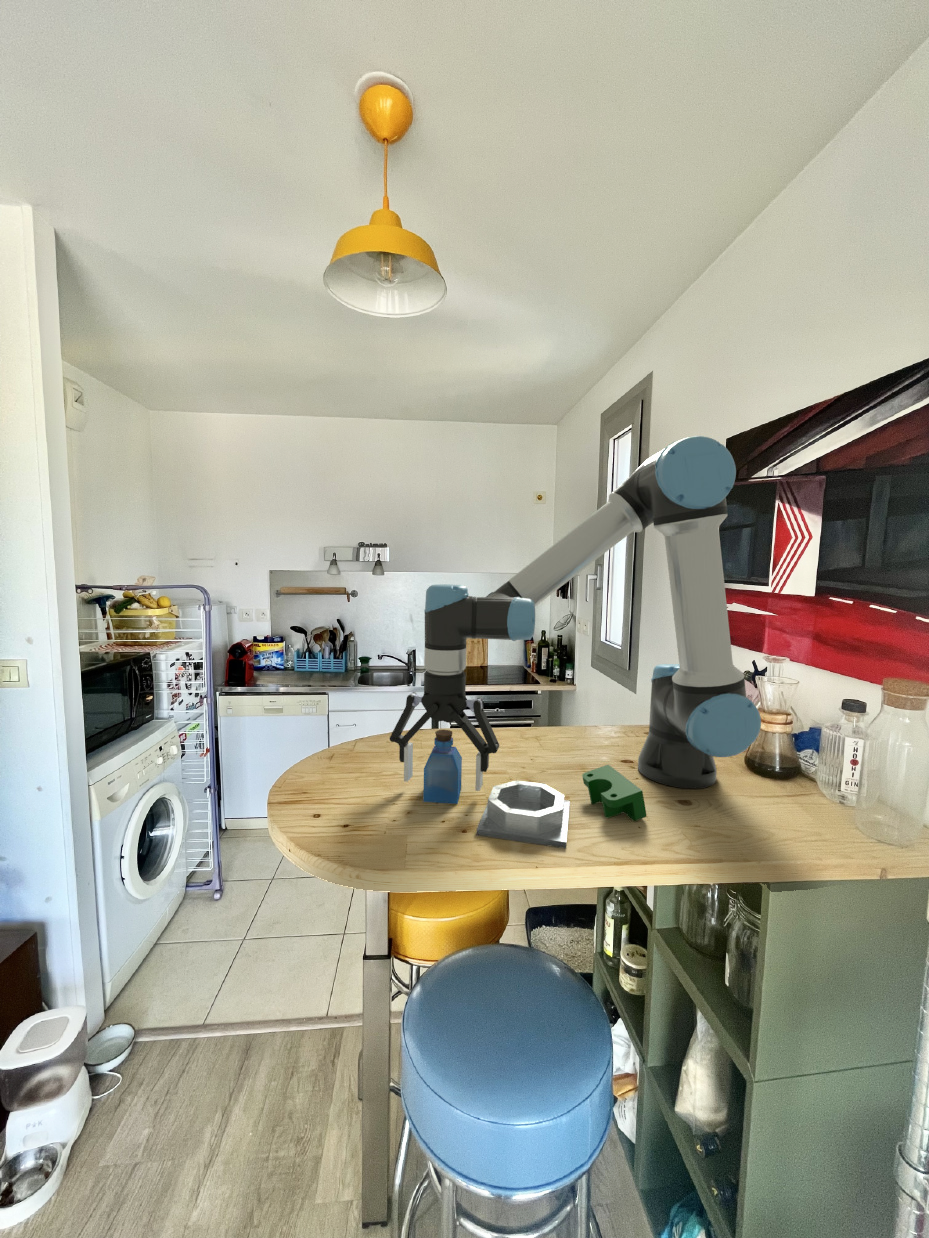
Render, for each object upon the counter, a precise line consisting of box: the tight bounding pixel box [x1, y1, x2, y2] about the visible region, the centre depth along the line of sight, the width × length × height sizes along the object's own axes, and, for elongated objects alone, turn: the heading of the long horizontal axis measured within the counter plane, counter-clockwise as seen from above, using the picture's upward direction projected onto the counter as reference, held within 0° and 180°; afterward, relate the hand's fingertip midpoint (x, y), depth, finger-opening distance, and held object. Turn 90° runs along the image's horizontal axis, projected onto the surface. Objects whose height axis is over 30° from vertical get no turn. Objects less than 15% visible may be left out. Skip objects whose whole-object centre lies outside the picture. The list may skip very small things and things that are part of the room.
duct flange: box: [475, 779, 571, 849], centre depth 87 cm, size 14×14×4 cm
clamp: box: [581, 764, 647, 822], centre depth 91 cm, size 12×6×9 cm, turn 8°
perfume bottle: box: [422, 729, 463, 805], centre depth 95 cm, size 6×6×12 cm
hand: (443, 783), depth 95 cm, fingers open, 13 cm apart
